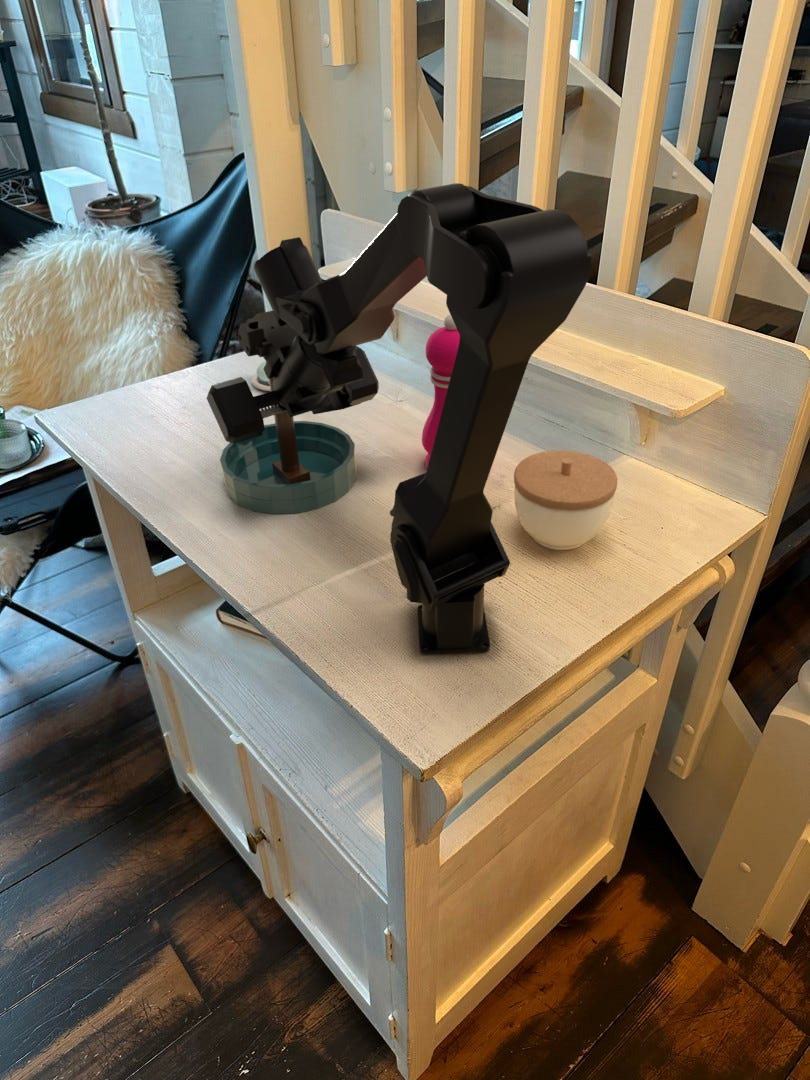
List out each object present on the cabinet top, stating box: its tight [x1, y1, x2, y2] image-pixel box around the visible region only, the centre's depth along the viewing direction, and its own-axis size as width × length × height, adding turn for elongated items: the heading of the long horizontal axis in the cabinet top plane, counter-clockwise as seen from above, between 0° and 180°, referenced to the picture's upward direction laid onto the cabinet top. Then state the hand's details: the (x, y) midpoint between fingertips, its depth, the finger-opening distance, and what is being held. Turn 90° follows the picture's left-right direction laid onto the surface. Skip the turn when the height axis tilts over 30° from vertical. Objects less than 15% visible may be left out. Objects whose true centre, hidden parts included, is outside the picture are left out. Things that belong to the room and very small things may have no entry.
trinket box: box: [513, 449, 618, 551], centre depth 82 cm, size 11×11×9 cm
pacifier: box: [251, 360, 271, 392], centre depth 117 cm, size 7×6×6 cm
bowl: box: [219, 420, 358, 515], centre depth 94 cm, size 16×16×4 cm
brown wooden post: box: [269, 378, 311, 484], centre depth 90 cm, size 5×3×14 cm, turn 34°
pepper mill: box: [421, 313, 460, 468], centre depth 91 cm, size 7×7×20 cm
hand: (279, 420), depth 91 cm, fingers open, 9 cm apart
